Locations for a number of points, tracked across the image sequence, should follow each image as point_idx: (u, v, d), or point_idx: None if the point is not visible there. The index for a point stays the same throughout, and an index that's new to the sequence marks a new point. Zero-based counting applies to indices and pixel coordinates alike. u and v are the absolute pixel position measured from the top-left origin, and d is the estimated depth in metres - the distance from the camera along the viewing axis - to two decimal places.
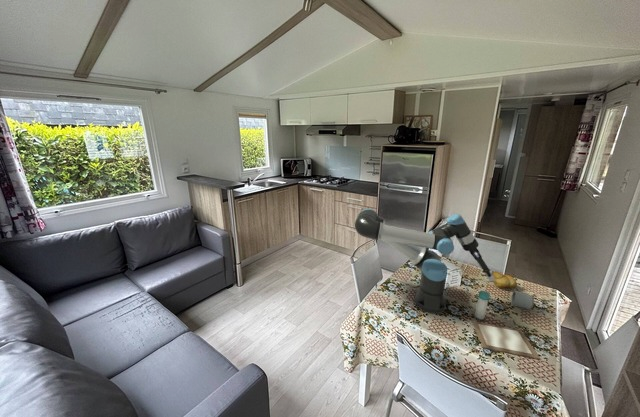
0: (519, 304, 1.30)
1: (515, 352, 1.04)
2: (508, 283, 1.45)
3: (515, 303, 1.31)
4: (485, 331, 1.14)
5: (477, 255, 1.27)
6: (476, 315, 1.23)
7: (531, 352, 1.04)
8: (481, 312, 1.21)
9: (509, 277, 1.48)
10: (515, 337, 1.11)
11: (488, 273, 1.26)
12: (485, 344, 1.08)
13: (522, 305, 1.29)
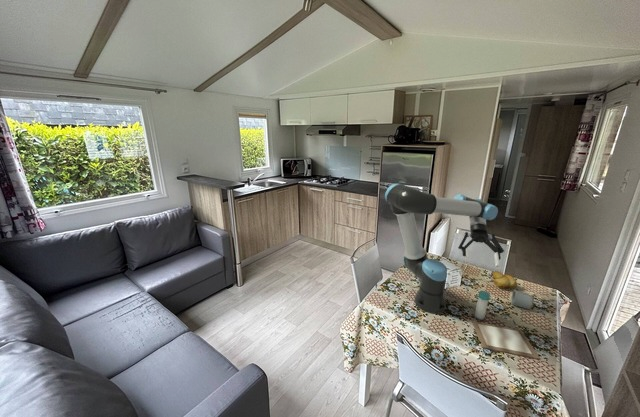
0: (519, 304, 1.30)
1: (515, 352, 1.04)
2: (508, 283, 1.45)
3: (515, 303, 1.31)
4: (485, 331, 1.14)
5: None
6: (476, 315, 1.23)
7: (531, 352, 1.04)
8: (481, 312, 1.21)
9: (509, 277, 1.48)
10: (515, 337, 1.11)
11: None
12: (485, 344, 1.08)
13: (522, 305, 1.30)
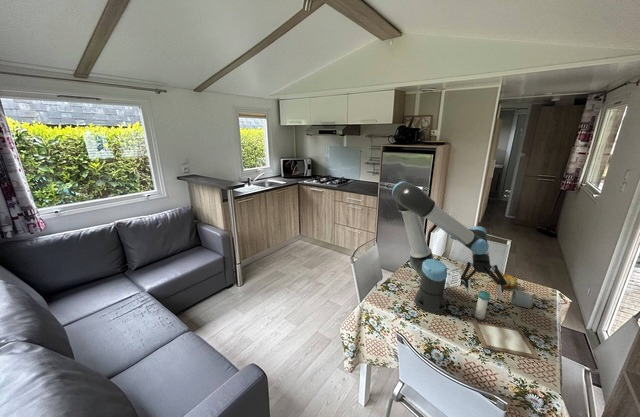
0: (519, 303, 1.31)
1: (515, 352, 1.04)
2: (508, 282, 1.45)
3: (515, 302, 1.32)
4: (485, 331, 1.14)
5: None
6: (476, 315, 1.23)
7: (531, 352, 1.04)
8: (481, 312, 1.21)
9: (510, 277, 1.48)
10: (515, 337, 1.11)
11: None
12: (485, 344, 1.08)
13: (522, 304, 1.30)
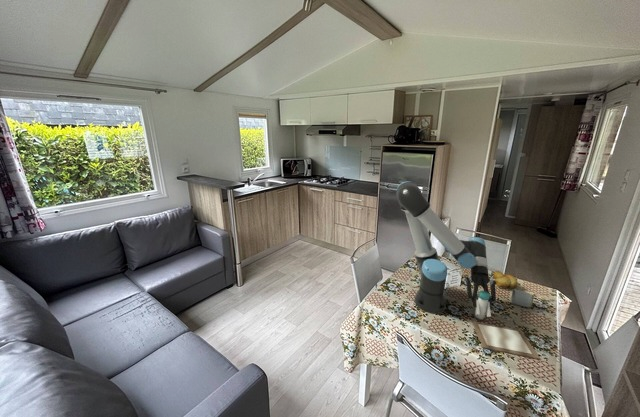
0: (518, 302, 1.31)
1: (515, 352, 1.04)
2: (508, 282, 1.46)
3: (514, 301, 1.32)
4: (485, 331, 1.14)
5: None
6: (476, 315, 1.23)
7: (531, 352, 1.04)
8: (481, 312, 1.21)
9: (510, 277, 1.48)
10: (515, 337, 1.11)
11: None
12: (485, 344, 1.08)
13: (521, 303, 1.31)
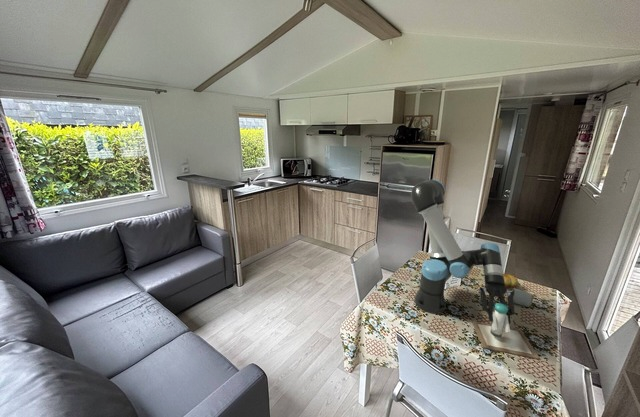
0: (518, 301, 1.32)
1: (515, 352, 1.04)
2: (509, 282, 1.46)
3: (514, 300, 1.33)
4: (485, 331, 1.14)
5: None
6: (493, 330, 1.10)
7: (531, 352, 1.04)
8: (498, 327, 1.08)
9: (511, 277, 1.48)
10: (515, 337, 1.11)
11: None
12: (485, 344, 1.08)
13: (521, 302, 1.31)
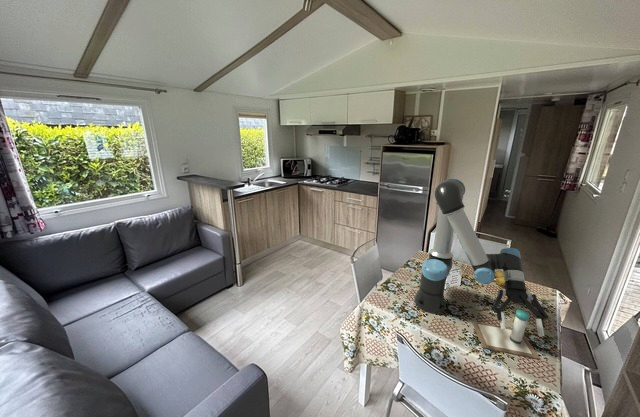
0: None
1: (515, 352, 1.04)
2: None
3: None
4: (485, 331, 1.14)
5: None
6: (512, 337, 1.09)
7: (531, 352, 1.04)
8: (518, 334, 1.07)
9: None
10: None
11: None
12: (485, 344, 1.08)
13: None
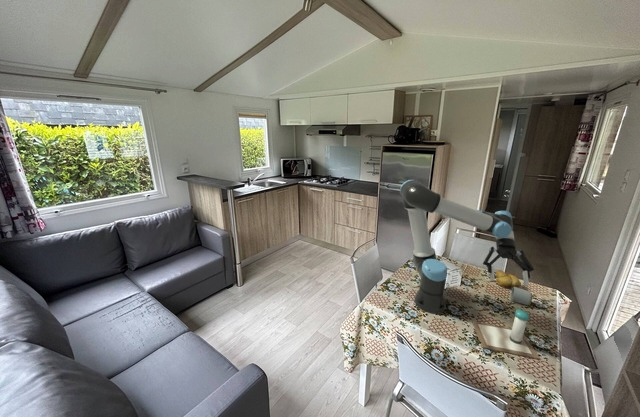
0: (518, 300, 1.33)
1: (515, 352, 1.04)
2: (510, 282, 1.46)
3: (514, 299, 1.34)
4: (485, 331, 1.14)
5: None
6: (512, 337, 1.09)
7: (531, 352, 1.04)
8: (518, 333, 1.07)
9: (512, 276, 1.49)
10: None
11: None
12: (485, 344, 1.08)
13: (521, 301, 1.33)
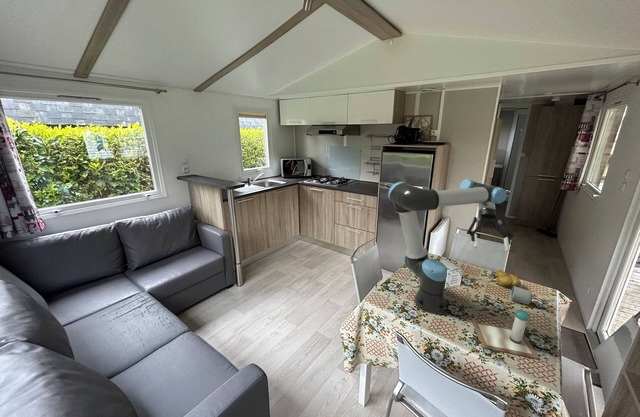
0: (518, 299, 1.34)
1: (515, 352, 1.04)
2: (510, 281, 1.46)
3: (514, 298, 1.35)
4: (485, 331, 1.14)
5: None
6: (512, 337, 1.09)
7: (531, 352, 1.04)
8: (518, 333, 1.07)
9: (513, 276, 1.49)
10: None
11: None
12: (485, 344, 1.08)
13: (520, 300, 1.33)
